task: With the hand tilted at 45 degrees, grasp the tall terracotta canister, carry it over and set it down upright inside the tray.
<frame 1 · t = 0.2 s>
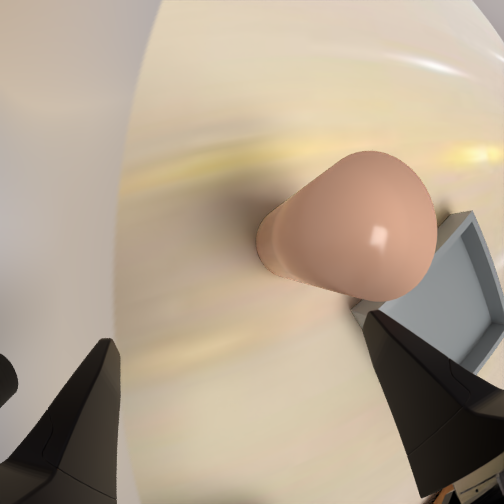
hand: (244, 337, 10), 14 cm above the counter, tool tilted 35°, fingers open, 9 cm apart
canister: (292, 241, 25), on the counter
tray: (438, 318, 27), on the counter
bread roll: (436, 502, 28), on the counter
drinking cup: (3, 373, 21), on the counter
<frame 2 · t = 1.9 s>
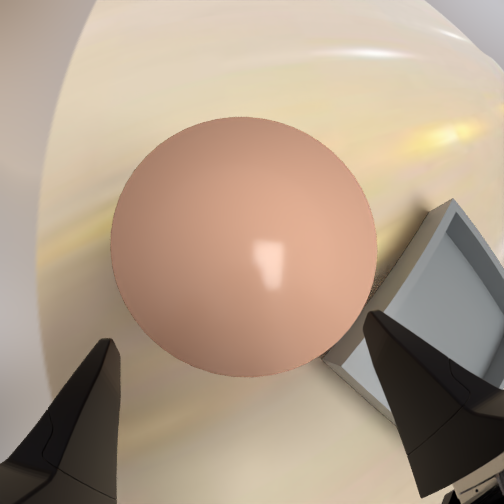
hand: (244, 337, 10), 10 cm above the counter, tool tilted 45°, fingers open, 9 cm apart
canister: (227, 291, 20), on the counter
tray: (441, 340, 21), on the counter
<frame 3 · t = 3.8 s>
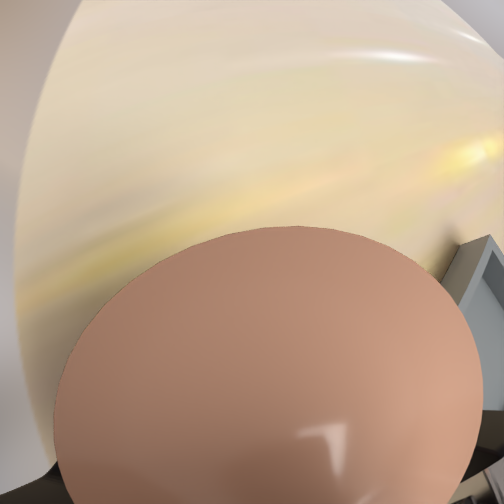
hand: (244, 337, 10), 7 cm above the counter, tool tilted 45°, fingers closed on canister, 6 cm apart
canister: (236, 352, 16), on the counter, touching gripper
tray: (464, 385, 17), on the counter
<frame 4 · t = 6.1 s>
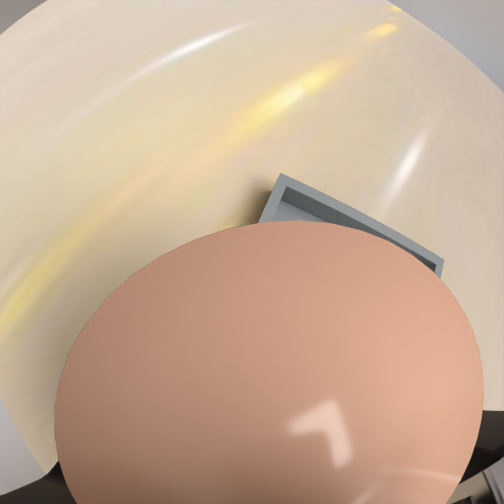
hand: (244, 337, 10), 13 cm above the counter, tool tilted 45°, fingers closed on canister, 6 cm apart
canister: (236, 351, 16), point 6 cm above the counter, touching gripper
tray: (324, 316, 24), on the counter
when the fingers open (9 cm above the counter, at t = 8.5 s): canister drops 1 cm, resting on tray.
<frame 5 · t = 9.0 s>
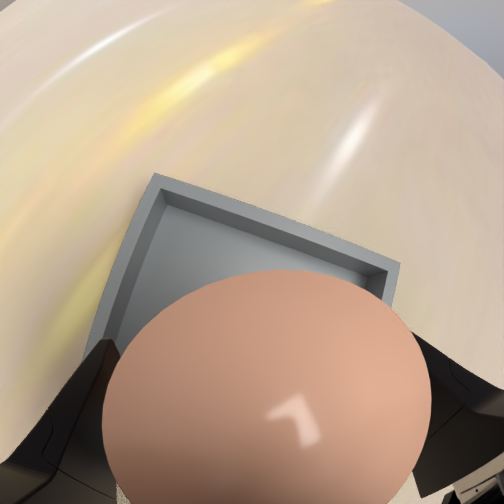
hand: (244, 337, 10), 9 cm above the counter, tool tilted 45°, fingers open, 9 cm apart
canister: (233, 350, 18), point 1 cm above the counter, touching tray
tray: (233, 347, 19), on the counter
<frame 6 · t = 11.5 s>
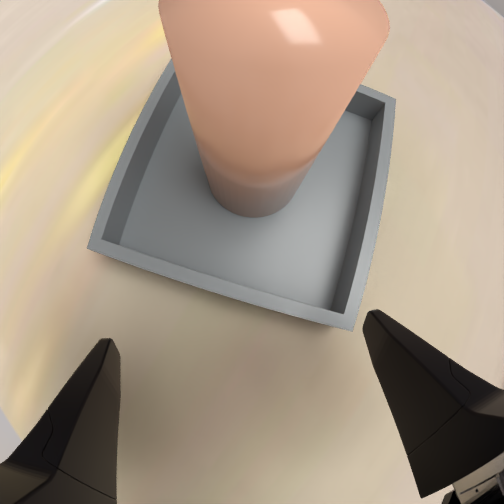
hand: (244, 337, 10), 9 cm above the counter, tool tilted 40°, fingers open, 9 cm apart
canister: (253, 173, 19), point 1 cm above the counter, touching tray
tray: (254, 176, 20), on the counter
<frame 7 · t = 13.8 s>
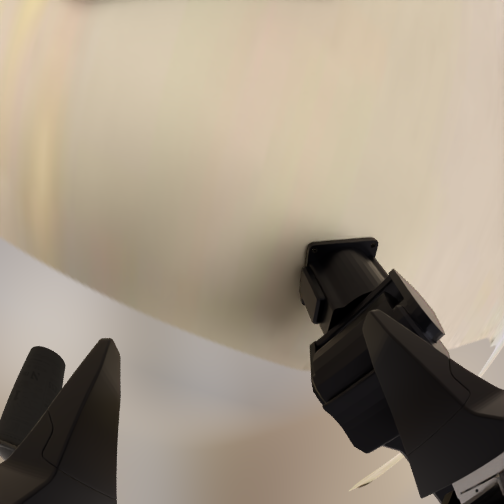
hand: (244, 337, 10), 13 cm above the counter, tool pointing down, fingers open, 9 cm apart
drinking cup: (48, 357, 28), on the counter
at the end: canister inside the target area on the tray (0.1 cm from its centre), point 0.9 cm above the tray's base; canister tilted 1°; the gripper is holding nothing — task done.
